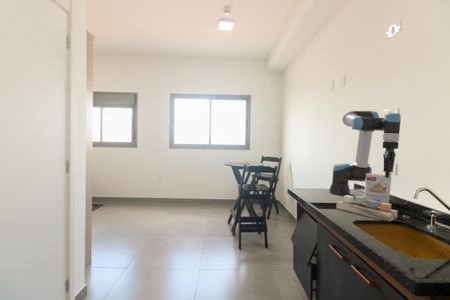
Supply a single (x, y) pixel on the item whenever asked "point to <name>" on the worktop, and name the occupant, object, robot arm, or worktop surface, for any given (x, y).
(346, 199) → the ivory key
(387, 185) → the cracker box
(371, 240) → the worktop surface
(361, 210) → the key console
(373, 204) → the slate key
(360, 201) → the sage key
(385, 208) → the pink small block
